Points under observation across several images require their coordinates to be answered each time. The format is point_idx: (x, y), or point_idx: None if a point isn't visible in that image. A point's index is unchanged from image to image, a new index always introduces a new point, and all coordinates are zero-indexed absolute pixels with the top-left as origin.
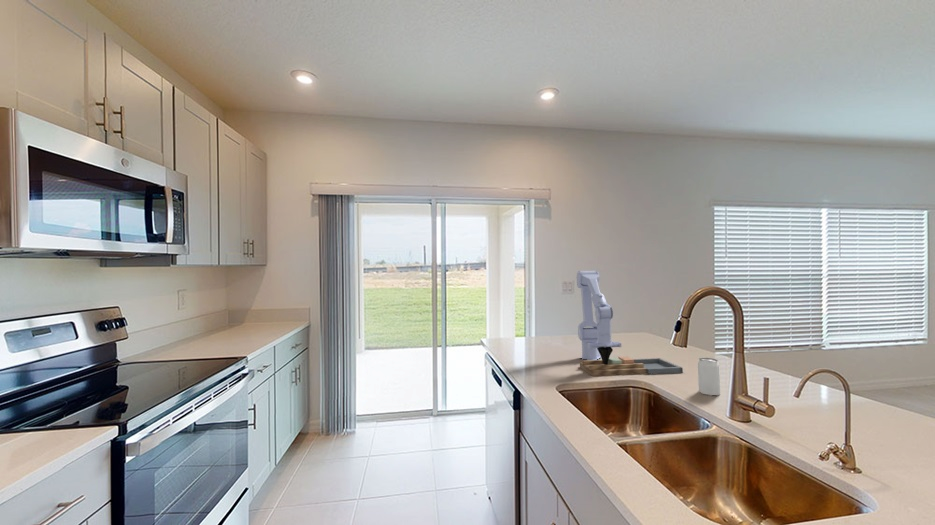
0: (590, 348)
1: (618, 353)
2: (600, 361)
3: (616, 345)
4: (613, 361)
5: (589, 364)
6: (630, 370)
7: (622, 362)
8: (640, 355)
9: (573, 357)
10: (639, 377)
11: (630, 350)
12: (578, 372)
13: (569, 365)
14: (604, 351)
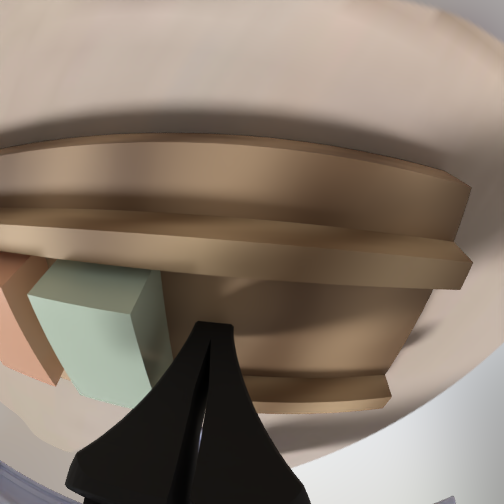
0: (447, 499)
1: (72, 435)
2: None
3: (13, 489)
4: (124, 304)
5: (331, 376)
6: (26, 150)
7: None
8: (8, 394)
9: None
10: (30, 48)
11: (39, 429)
12: None
13: None
14: (248, 484)
